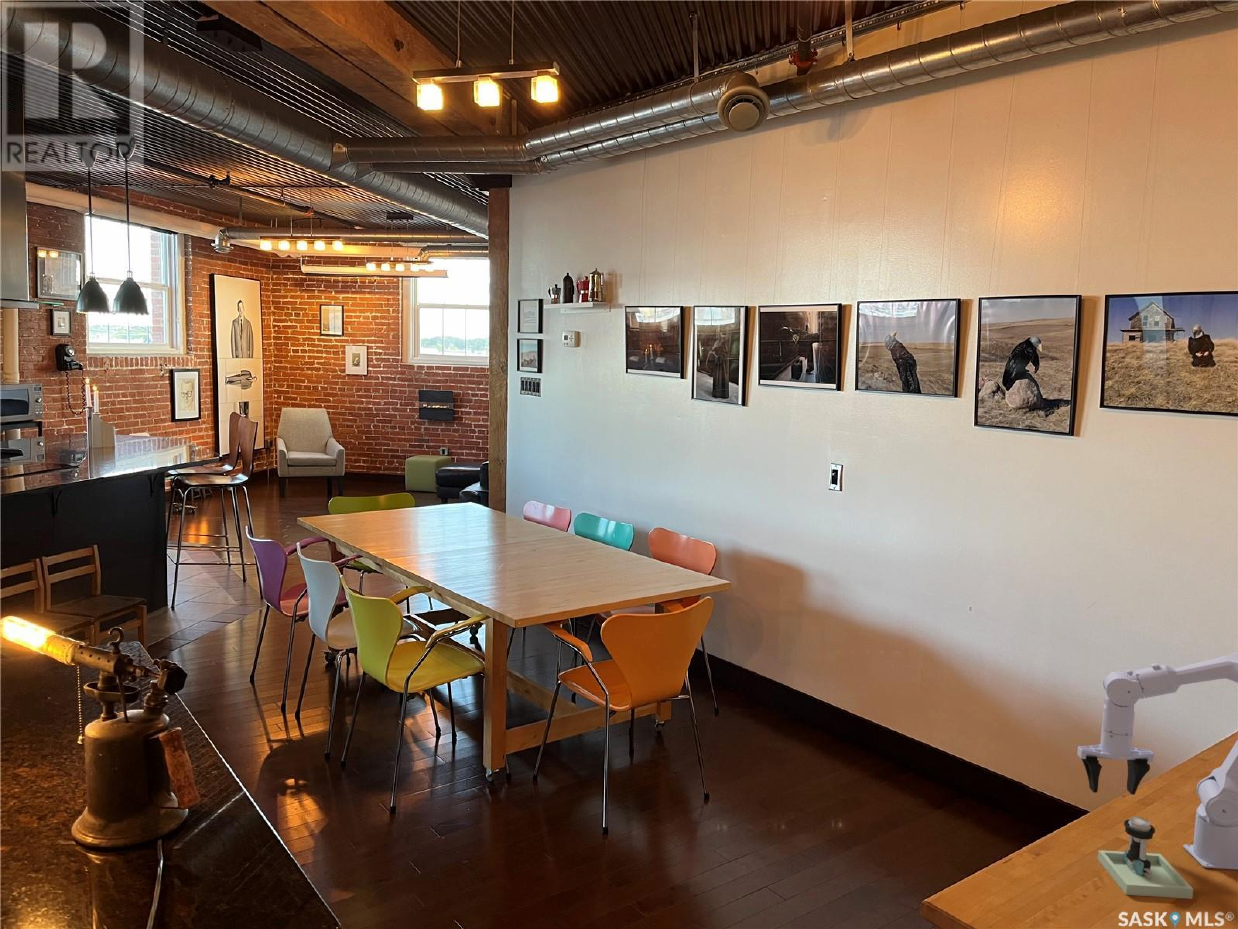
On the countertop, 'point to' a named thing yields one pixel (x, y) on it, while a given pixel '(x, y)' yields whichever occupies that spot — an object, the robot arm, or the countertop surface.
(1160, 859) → the tray
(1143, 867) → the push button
